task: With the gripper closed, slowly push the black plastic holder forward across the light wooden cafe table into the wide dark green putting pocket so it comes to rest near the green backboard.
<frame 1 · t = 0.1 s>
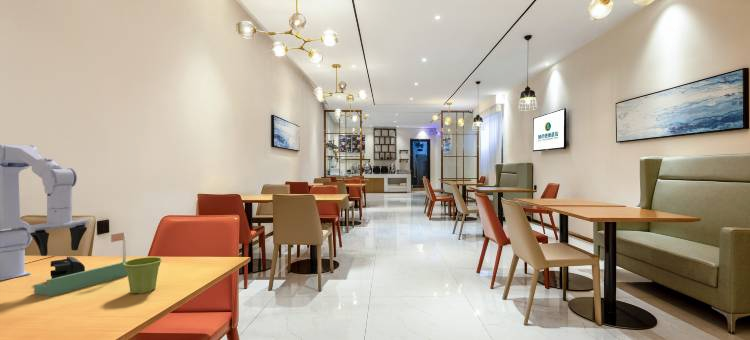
hand: (59, 252, 108), 10 cm above the table, fingers open, 7 cm apart
black plastic holder: (67, 280, 113), on the table
plant pot: (143, 291, 103), on the table
putting pocket: (81, 282, 111), on the table
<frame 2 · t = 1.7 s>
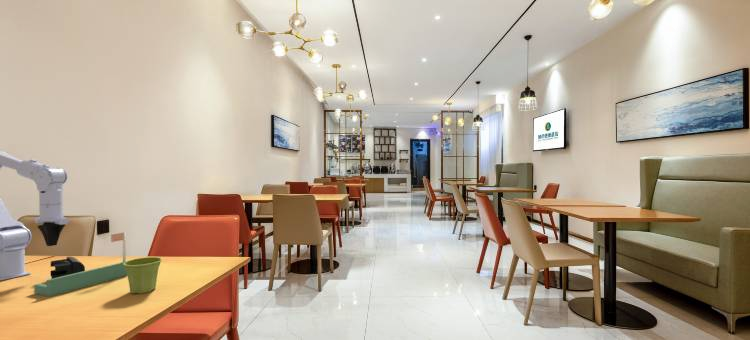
hand: (51, 245, 117), 10 cm above the table, fingers closed
nothing on the table moved.
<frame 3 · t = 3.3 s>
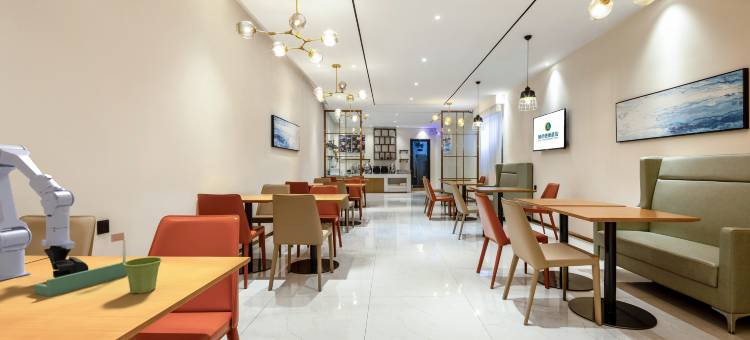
hand: (58, 269, 115), 3 cm above the table, fingers closed
black plastic holder: (70, 281, 113), on the table, touching gripper
everything else where it was.
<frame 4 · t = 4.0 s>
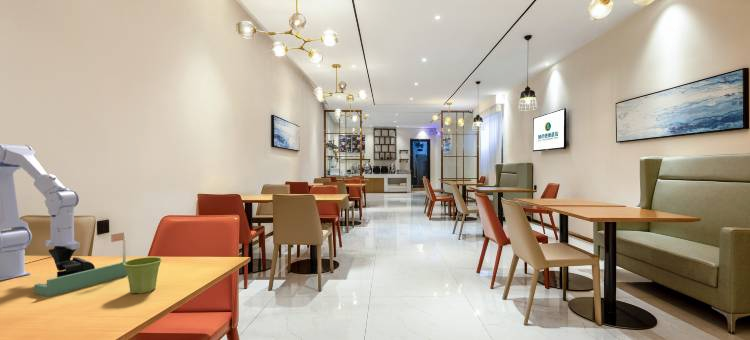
hand: (62, 269, 114), 3 cm above the table, fingers closed
black plastic holder: (75, 281, 112), on the table, touching gripper
everything else where it was.
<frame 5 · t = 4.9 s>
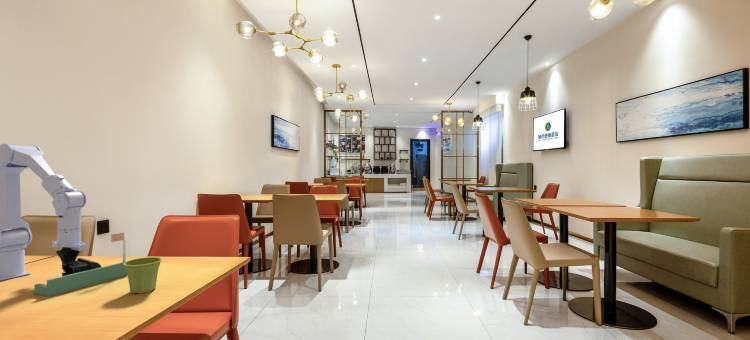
hand: (68, 271, 113), 3 cm above the table, fingers closed, pressing on black plastic holder
black plastic holder: (81, 282, 111), on the table, touching gripper, putting pocket
everything else where it was.
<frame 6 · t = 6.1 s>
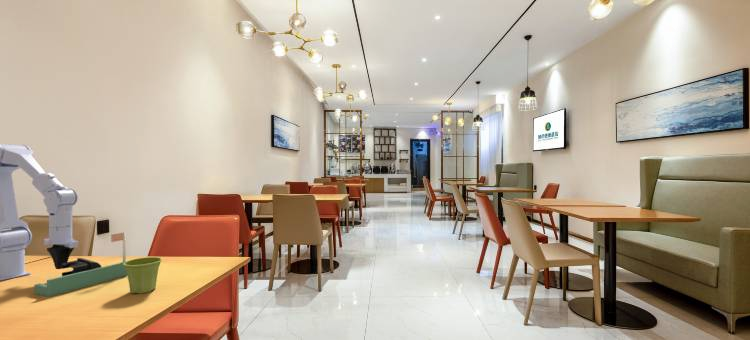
hand: (60, 268, 114), 3 cm above the table, fingers closed
black plastic holder: (81, 282, 111), on the table, touching putting pocket
everything else where it was.
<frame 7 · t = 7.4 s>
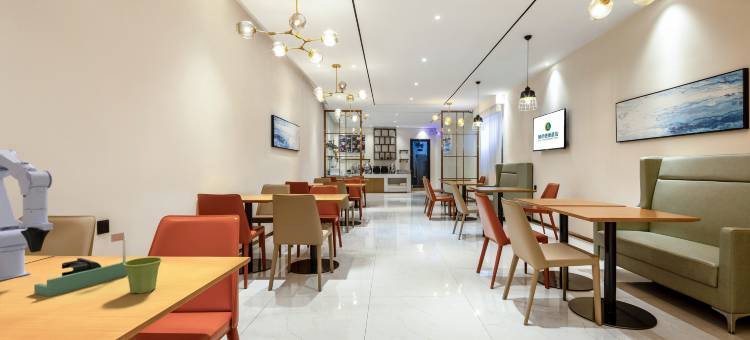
hand: (35, 251, 112), 9 cm above the table, fingers closed
nothing on the table moved.
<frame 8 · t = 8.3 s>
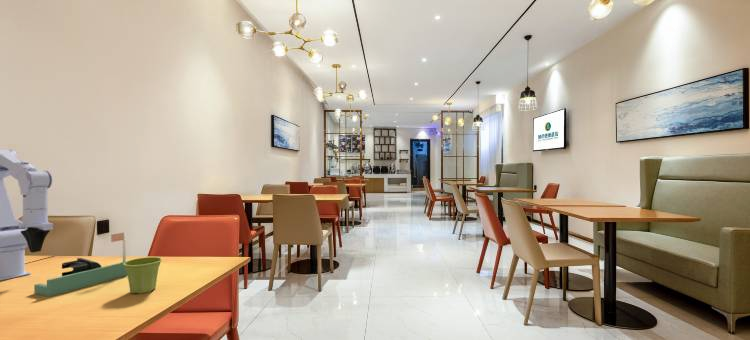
hand: (35, 251, 112), 9 cm above the table, fingers closed
nothing on the table moved.
at the end: black plastic holder inside the target area on the putting pocket (1.6 cm from its centre), point 0.0 cm above the putting pocket's base; black plastic holder moved 6.5 cm from its start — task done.
